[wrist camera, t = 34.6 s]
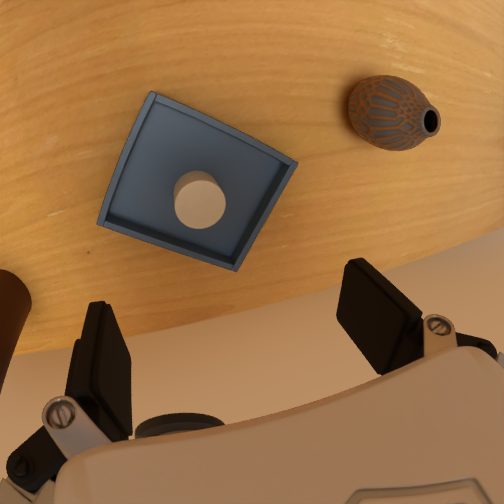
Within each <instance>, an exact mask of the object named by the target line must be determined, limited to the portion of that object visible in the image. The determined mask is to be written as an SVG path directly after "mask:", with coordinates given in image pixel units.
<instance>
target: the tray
mask: <svg viewBox="0 0 504 504" xmlns="http://www.w3.org/2000/svg"><path fill="white" fill-rule="evenodd" d="M297 165H298V162H296V161H294V160H292V159H291V158H289V157H287V156H285V155H284V154H282V153H280V152H278V151H277V150H275V149H273V148H271V147H269V146H267V145H265V144H264V143H262V142H260V141H258V140H256V139H254V138H252V137H250V136H248V135H246V134H245V133H243V132H241V131H239V130H237V129H235V128H233V127H231V126H229V125H227V124H225V123H222V122H220V121H218V120H216V119H214V118H212V117H210V116H208V115H206V114H203V113H201V112H199V111H197V110H195V109H193V108H190V107H188V106H186V105H184V104H181V103H179V102H177V101H174V100H172V99H170V98H167V97H165V96H162V95H160V94H157V93H155V92H153V91H150V92H149V94H148V96H147V98H146V100H145V102H144V104H143V106H142V108H141V110H140V112H139V114H138V117H137V119H136V121H135V123H134V125H133V127H132V130H131V132H130V134H129V136H128V139H127V141H126V143H125V146H124V148H123V150H122V153H121V155H120V158H119V160H118V163H117V165H116V168H115V171H114V173H113V176H112V179H111V181H110V184H109V187H108V190H107V193H106V195H105V198H104V201H103V204H102V207H101V210H100V214H99V217H98V220H97V223H96V224H97V225H100V226H103V227H105V228H108V229H111V230H114V231H116V232H119V233H122V234H125V235H128V236H131V237H134V238H136V239H139V240H142V241H145V242H148V243H151V244H154V245H157V246H160V247H162V248H165V249H168V250H171V251H174V252H177V253H180V254H183V255H186V256H189V257H192V258H195V259H198V260H201V261H204V262H207V263H210V264H213V265H216V266H219V267H222V268H225V269H228V270H232V271H234V272H237V271H238V269H239V267H240V265H241V264H242V262H243V260H244V258H245V257H246V255H247V253H248V251H249V250H250V248H251V246H252V244H253V243H254V241H255V239H256V237H257V235H258V234H259V232H260V230H261V228H262V227H263V225H264V223H265V221H266V220H267V218H268V216H269V214H270V213H271V211H272V209H273V207H274V206H275V204H276V202H277V200H278V199H279V197H280V195H281V193H282V192H283V190H284V188H285V186H286V185H287V183H288V181H289V179H290V177H291V176H292V174H293V172H294V170H295V169H296V167H297ZM191 171H203V172H206V173H208V174H210V175H211V176H212V177H213V178H214V179H215V180H216V182H217V184H218V185H219V187H220V189H221V190H222V192H223V194H224V196H225V201H226V206H225V210H224V213H223V215H222V217H221V218H220V219H219V220H218V221H217V222H216V223H215V224H213V225H212V226H210V227H207V228H203V229H195V228H191V227H188V226H186V225H185V224H183V223H182V222H181V221H180V220H179V218H178V217H177V215H176V212H175V206H174V195H173V192H174V187H175V184H176V182H177V181H178V180H179V178H180V177H181V176H183V175H184V174H186V173H188V172H191Z"/></svg>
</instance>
